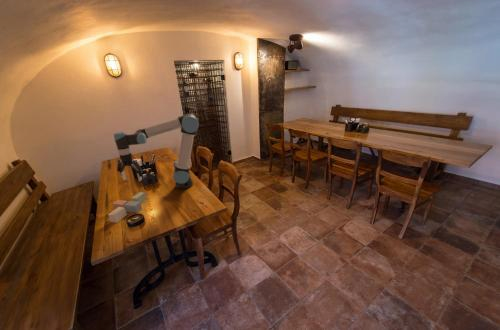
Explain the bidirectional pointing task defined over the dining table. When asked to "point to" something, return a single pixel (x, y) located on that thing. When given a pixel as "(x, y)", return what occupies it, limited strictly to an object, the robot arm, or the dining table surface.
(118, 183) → the dining table surface
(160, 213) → the dining table surface
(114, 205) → the terracotta brick
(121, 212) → the cream brick
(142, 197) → the green brick
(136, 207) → the slate brick
